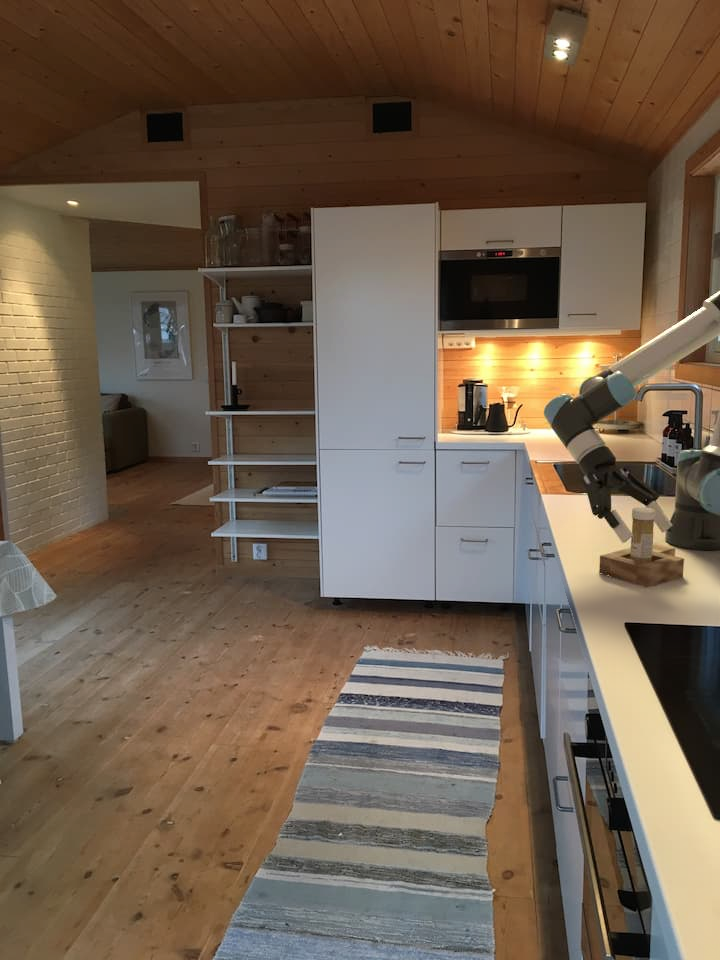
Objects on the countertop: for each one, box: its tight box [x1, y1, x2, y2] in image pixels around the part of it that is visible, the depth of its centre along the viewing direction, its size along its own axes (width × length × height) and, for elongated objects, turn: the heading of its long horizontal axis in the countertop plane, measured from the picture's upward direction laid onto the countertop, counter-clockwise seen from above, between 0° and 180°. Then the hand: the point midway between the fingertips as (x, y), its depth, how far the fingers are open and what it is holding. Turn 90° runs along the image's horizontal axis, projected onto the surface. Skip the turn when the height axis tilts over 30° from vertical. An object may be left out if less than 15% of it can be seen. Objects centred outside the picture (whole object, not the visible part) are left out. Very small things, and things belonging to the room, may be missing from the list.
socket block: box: [598, 547, 685, 588], centre depth 162 cm, size 12×12×4 cm
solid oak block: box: [652, 542, 676, 557], centre depth 170 cm, size 6×6×4 cm
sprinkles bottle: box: [630, 506, 655, 563], centre depth 161 cm, size 5×5×13 cm
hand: (648, 534), depth 160 cm, fingers open, 13 cm apart
